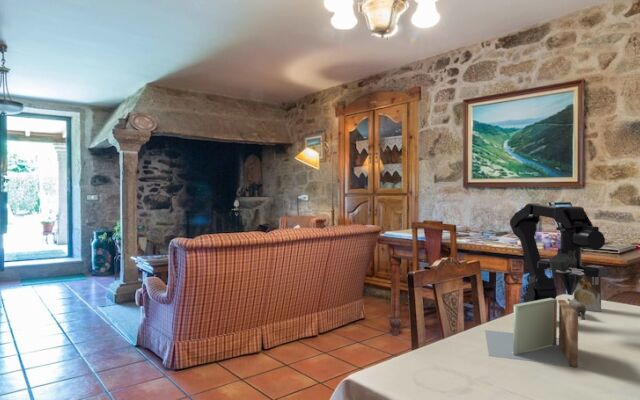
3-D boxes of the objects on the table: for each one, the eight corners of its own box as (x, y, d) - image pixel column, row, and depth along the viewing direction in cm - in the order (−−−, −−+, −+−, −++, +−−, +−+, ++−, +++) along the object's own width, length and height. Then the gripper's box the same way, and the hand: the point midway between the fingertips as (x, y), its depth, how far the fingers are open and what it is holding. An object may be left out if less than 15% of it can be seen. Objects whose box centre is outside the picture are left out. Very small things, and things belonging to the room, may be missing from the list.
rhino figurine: (575, 311, 159) (575, 295, 159) (588, 321, 146) (588, 304, 146) (563, 310, 160) (564, 294, 160) (575, 320, 147) (575, 303, 147)
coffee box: (599, 308, 163) (599, 267, 163) (601, 312, 157) (601, 270, 157) (572, 305, 167) (572, 266, 167) (573, 309, 161) (573, 268, 161)
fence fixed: (557, 346, 120) (558, 298, 120) (564, 346, 120) (565, 298, 119) (570, 366, 106) (571, 312, 105) (578, 367, 105) (579, 313, 105)
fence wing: (511, 353, 114) (512, 304, 114) (552, 342, 122) (552, 297, 122) (517, 355, 112) (517, 306, 112) (557, 344, 121) (558, 298, 121)
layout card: (485, 331, 134) (485, 329, 134) (563, 339, 127) (563, 338, 127) (488, 357, 112) (488, 355, 112) (583, 369, 105) (583, 367, 105)
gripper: (527, 244, 134) (527, 291, 135) (588, 250, 118) (588, 304, 119) (547, 242, 140) (546, 287, 140) (608, 248, 124) (607, 299, 124)
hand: (570, 294), depth 131 cm, fingers closed
